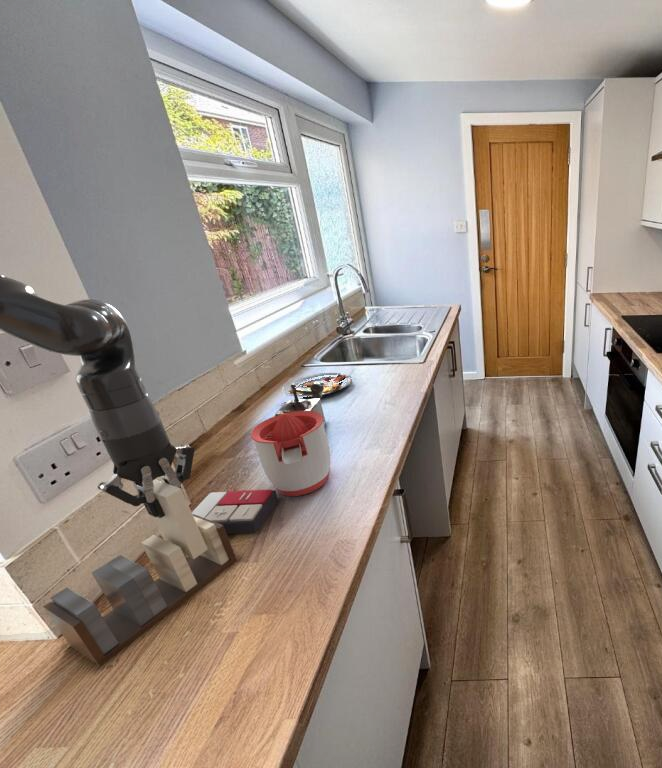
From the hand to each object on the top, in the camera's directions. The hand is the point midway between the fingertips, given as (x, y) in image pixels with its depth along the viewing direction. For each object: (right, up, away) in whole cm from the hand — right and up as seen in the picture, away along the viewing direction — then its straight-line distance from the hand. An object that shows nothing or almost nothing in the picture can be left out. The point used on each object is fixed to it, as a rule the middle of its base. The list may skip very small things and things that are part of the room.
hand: (169, 510), depth 72 cm
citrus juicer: (+9, -3, +31) cm, 32 cm away
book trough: (-2, -16, +1) cm, 16 cm away
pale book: (0, -8, +4) cm, 9 cm away
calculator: (-2, -8, +20) cm, 22 cm away
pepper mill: (-2, +7, +56) cm, 56 cm away
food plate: (-15, +21, +88) cm, 92 cm away
